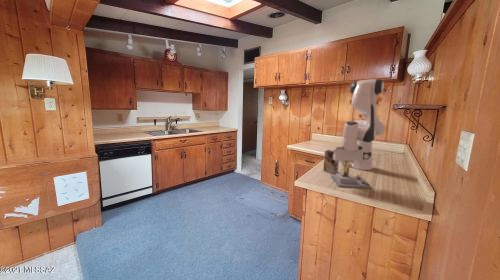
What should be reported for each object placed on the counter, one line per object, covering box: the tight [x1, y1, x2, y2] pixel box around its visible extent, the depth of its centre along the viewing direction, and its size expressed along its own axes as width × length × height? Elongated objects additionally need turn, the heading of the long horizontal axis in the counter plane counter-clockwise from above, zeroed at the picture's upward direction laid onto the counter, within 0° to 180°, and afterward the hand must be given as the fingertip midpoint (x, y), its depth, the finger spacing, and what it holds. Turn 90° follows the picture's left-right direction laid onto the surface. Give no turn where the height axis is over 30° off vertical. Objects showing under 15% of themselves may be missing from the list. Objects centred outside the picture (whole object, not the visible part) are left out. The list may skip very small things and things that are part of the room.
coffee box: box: [323, 149, 340, 175], centre depth 160 cm, size 9×6×16 cm
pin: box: [342, 161, 350, 176], centre depth 138 cm, size 3×3×12 cm
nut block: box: [330, 172, 373, 190], centre depth 140 cm, size 18×20×4 cm
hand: (346, 166), depth 138 cm, fingers closed on pin, 3 cm apart
